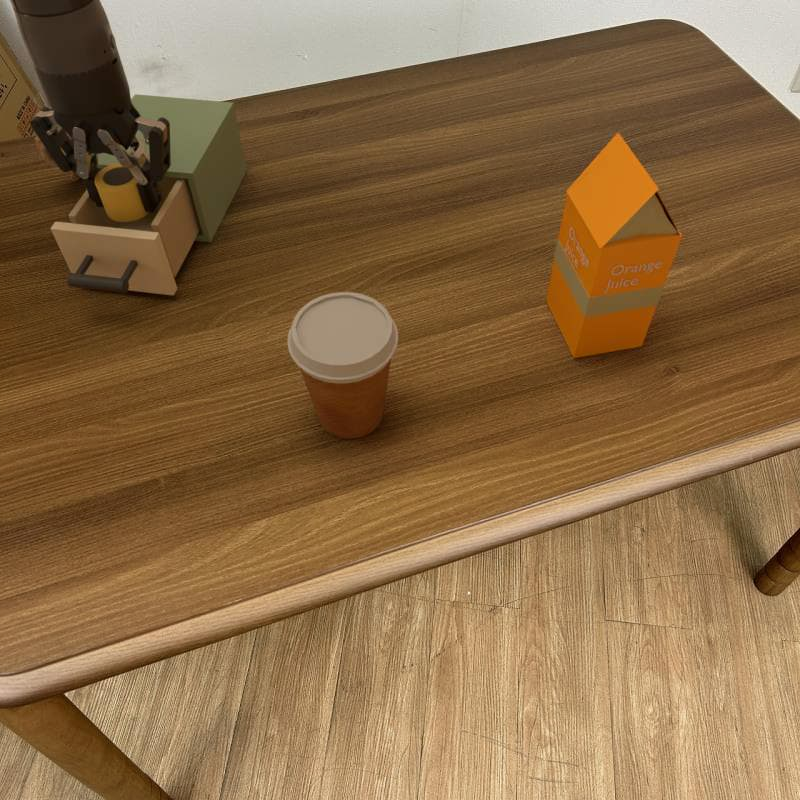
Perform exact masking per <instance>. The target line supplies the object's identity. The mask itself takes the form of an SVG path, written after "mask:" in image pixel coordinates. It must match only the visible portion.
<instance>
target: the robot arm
mask: <svg viewBox="0 0 800 800" xmlns="http://www.w3.org/2000/svg"><path fill="white" fill-rule="evenodd" d="M9 2H10V4H11V6H12V9H13V13H14V15H15V19H16V23H17V29H18V31H19V34H20V38H21V39H22V42H23V44H24V47H25V49H26V51H27V54H28V57H29V58H30V62H31V64H32V66H33V69H34V71H35V74H36V76H37V78H38V81H39V84H40V87H41V89H42V91H43V93H44V95H45V98H46V100H47V103H48V105H49V107H50V108H49V107H48V106H42V107H41V108H40V110H39V111H38V112H37V113H36V114H35V115H34V117H33V118H32V119H31V120H30V121H29V125H30V127H31V129H32V130H33V131H34V133H35V134H36V137H37V136H38V137H39V139H40V140H41V142H42V143H43V145H44V146H45V148H46V149H47V150H48V152H49V153H50V155H51V156H52V158H53V159H54V161H55V162H56V164H57V165H58V167H57V168H58V169H59V170H61V171H62V172H63V173H70V172H72V171H73V172H75V173H77V175H78V176H79V177H80V178H79V179H82V182H83V184H84V186H85V189H86V190H87V191H88V194H89V196H90V198H91V199H92V201H93V202H95V203H96V205H97V207H103V208H104V206H103V203H102V200H101V198H100V195H99V193H98V190H97V188H96V185H95V182H94V180H95V176H96V175H97V173H98V172H99V171H100V170H102V169H101V168H97V165H98V154H100V153H106V154H110V155H114V156H115V157H116V158H117V160H118V161H119V163H120V164H121V165H122V167H124V168H128V169H129V171H130V172H131V174H132V175H133V176H134V178H135V179H136V181H137V182H138V183H137V184H136V185H137V188H138V191H139V194H140V197H141V200H142V203H143V206H144V209H145V211H146V212H151V213H153V212H154V211H155V209H156V208H157V207H158V205H159V203H160V202H161V200H162V195H161V192H160V189H159V185H158V182H159V181H161V180H162V179H163V177H164V175H165V173H166V172H167V170H168V169H169V168H170V166H171V156H170V123H169V121H168V120H167V119H165V118H163V117H160V118H159V119H158V120H157V121H153V120H150V119H146V118H143V117H141V115H140V113H139V112H138V111H137V109H136V108H135V107H134V105H133V104H132V102H131V99H132V96H131V90H130V85H129V82H128V78H127V75H126V72H125V69H124V65H123V62H122V60H121V56H120V52H119V50H118V47H117V41H116V37H115V35H114V33H113V30H112V28H111V24H110V21H109V18H108V16H107V14H106V10H105V8H104V7H103V5H102V2H101V0H9ZM51 109H52V110H51ZM64 130H65V131H66V132H67V133H68V134H69V135H70V136H71V137H72V138H73V139H74V145H73V143H72V142H71V140H70V138H69V137H68V135H67V134H66V132H65V131H64ZM138 130H139V131H140V132H142V134H143V136H144V139H145V143H146V144H147V145H149V153H150V157H149V156H148V154H147V153H146V147H145V144H144V143H143V141H142V140H141V139H140V137H139V136H138V134H137V131H138ZM129 146H130V150H129V151H128V152H127V149H128V148H129ZM61 148H62V149H63V151H64V152H65V154H66V155H64V153H63V151H62V150H61ZM139 163H140V164H139ZM140 165H141V166H142V167H141V166H140ZM157 181H158V182H157Z"/></svg>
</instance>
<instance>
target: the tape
mask: <svg viewBox="0 0 800 800" xmlns="http://www.w3.org/2000/svg"><path fill="white" fill-rule="evenodd" d="M94 182H95V185H96V188H97V190H98V193H99V195H100V198H101V200H102V203H103V206H104V208H105V211H106V213H107V215H108V217H109V218H111V219H112V220H115V221H118V222H131V221H135V220H138V219H141V218H143V217H145V216H146V215H147V214H148V213H149V212H146V211H145V209H144V206H143V203H142V200H141V197H140V194H139V191H138V188H137V185H136V184H137V183H138V182H137V181H136V179H135V178H134V176H133V175H132V174H131V172H130V171H129V169H128V168H124V167H122V165H121V164H120V163H117V164H113V165H110V166H107V167H105V168H103V169H102V170H100V171H99V172H98V173H97V175H96V176H95V180H94Z"/></svg>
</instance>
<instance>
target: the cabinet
mask: <svg viewBox="0 0 800 800" xmlns="http://www.w3.org/2000/svg"><path fill="white" fill-rule="evenodd" d="M131 102H132V104H133V105H134V107H135V108H136V109H137V111H138V112H139V113H140V115H141V117H143V118H146V119H150V120H153V121H157V120H158V119H159V118H160V117H163V118H165V119H167V120H168V121H169V123H170V156H171V166H170V168H169V169H168V170H167V172H166V173H165V175H164V177H173V178H183V179H188V182H189V186H190V190H191V193H192V197H193V201H194V204H195V208H196V211H197V215H198V219H199V222H200V226H201V229H200V231H199V233H198V235H197V237H196V239H195V240H194V242H202V243H212V241H213V239H214V237H215V235H216V233H217V231H218V229H219V227H220V225H221V223H222V221H223V219H224V218H225V216H226V213H227V211H228V210H229V207H230V205H231V203H233V200H234V197H235V195H236V193H237V192H238V190H239V188H240V185H241V183H242V182H243V180H244V178H245V175H246V173H247V172H248V170H247V165H246V159H245V154H244V150H243V145H242V140H241V134H240V130H239V125H238V120H237V113H236V110H235V109H236V108H235V103H234V102H232V101H218V100H208V99H195V98H184V97H183V98H182V97H174V96H173V97H172V96H160V95H159V96H158V95H148V94H137V93H136V94H134V95H133V96H132V97H131ZM137 134H138V136H139V137H140V139H141V140H142V141H143V143H144V144H145V147H146V153H147V154H148V156H149V157H150V153H149V145H147V144H146V143H145V139H144V136H143V134H142V132H140V131H139V130H138V131H137ZM129 150H130V146H129V148H128V149H127V152H128V151H129ZM117 163H119V161H118V160H117V158H116V157H115V156H114V155H110V154H106V153H100V154H98V165H97V168H101V169H103V168H105V167H107V166H110V165H113V164H117ZM139 164H140V163H139ZM140 166H141V165H140ZM141 167H142V166H141Z"/></svg>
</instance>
